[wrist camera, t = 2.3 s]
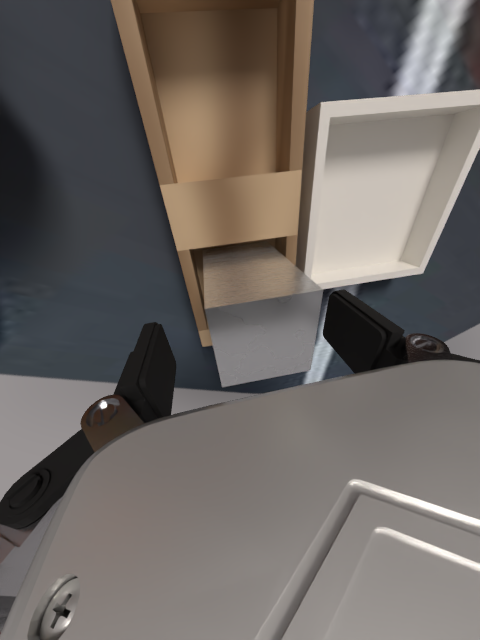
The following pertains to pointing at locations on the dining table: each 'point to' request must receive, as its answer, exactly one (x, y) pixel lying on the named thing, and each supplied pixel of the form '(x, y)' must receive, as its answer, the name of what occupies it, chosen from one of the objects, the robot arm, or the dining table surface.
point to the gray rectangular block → (259, 312)
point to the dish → (381, 183)
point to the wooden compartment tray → (222, 120)
